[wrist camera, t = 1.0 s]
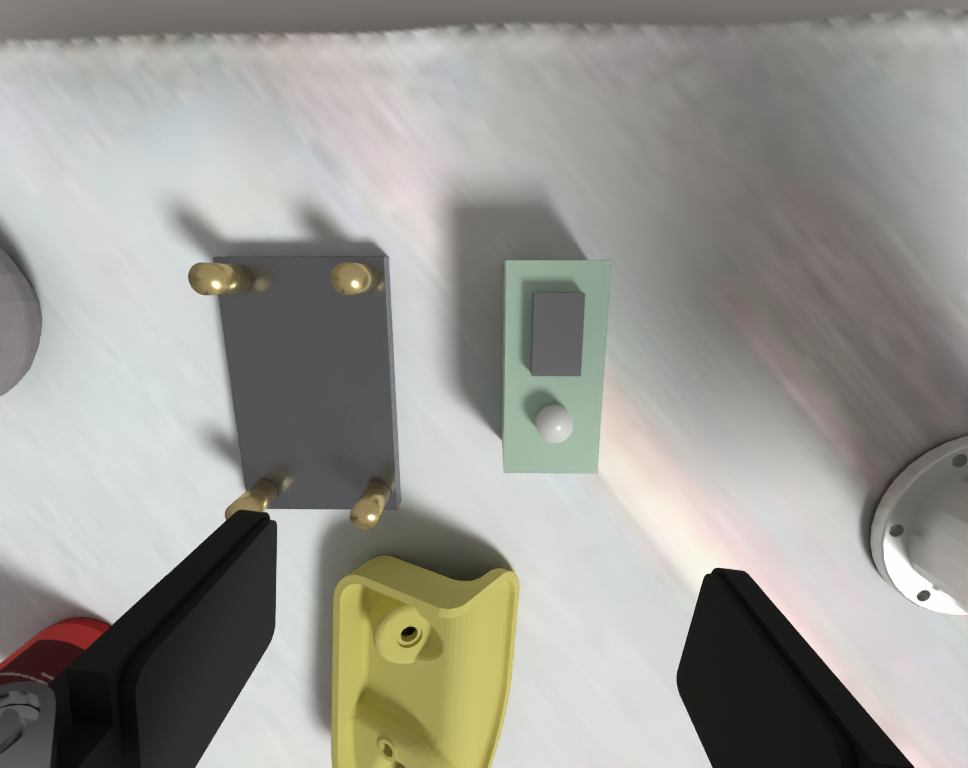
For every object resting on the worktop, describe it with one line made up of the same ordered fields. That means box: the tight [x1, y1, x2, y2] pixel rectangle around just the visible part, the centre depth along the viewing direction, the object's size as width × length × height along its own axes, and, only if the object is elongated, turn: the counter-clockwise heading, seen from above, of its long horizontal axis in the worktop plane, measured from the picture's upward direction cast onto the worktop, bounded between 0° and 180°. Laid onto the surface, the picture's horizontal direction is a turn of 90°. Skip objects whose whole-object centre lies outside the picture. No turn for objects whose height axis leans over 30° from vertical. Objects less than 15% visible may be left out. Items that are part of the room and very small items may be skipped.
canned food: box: [0, 618, 111, 685], centre depth 28 cm, size 8×8×11 cm
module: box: [502, 260, 611, 474], centre depth 25 cm, size 5×11×6 cm, turn 0°
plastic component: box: [331, 555, 519, 768], centre depth 31 cm, size 20×7×10 cm
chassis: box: [188, 256, 401, 530], centre depth 26 cm, size 10×16×4 cm, turn 0°
